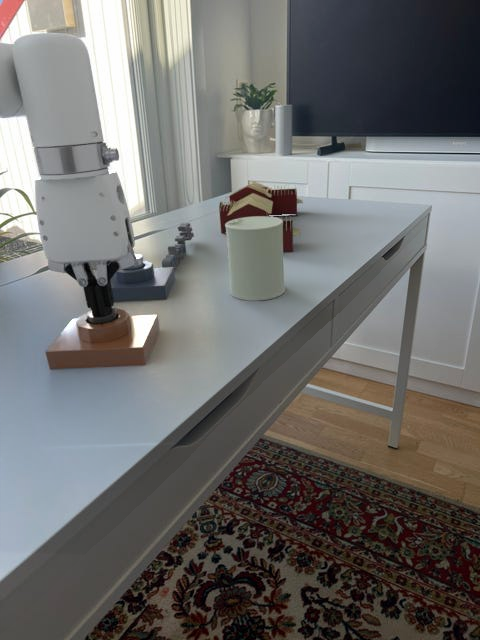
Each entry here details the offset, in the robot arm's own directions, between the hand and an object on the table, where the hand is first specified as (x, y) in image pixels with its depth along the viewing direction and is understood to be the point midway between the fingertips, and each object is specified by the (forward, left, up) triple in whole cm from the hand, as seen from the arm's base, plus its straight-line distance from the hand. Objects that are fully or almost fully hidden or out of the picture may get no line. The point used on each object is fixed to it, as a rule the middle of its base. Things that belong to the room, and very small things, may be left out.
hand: (102, 312), depth 61 cm
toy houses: (+22, +63, -6) cm, 67 cm away
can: (+20, +19, -6) cm, 28 cm away
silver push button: (-1, +22, -1) cm, 22 cm away
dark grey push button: (0, 0, -2) cm, 2 cm away
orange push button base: (0, 0, -5) cm, 5 cm away
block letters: (+4, +42, -6) cm, 43 cm away
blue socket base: (-1, +22, -5) cm, 23 cm away
